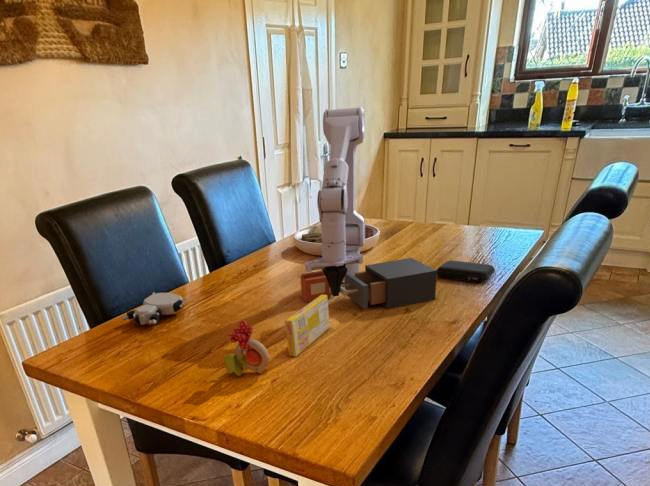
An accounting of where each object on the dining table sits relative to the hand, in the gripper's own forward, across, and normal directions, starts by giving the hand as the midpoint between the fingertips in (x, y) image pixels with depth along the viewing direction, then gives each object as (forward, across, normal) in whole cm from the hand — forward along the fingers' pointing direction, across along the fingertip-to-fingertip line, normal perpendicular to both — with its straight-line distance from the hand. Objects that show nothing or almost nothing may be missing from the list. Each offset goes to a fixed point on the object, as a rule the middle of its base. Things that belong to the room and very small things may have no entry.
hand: (335, 295), depth 130 cm
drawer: (+2, +9, 0) cm, 10 cm away
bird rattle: (+4, -29, -25) cm, 38 cm away
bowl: (+4, +22, +55) cm, 59 cm away
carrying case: (+4, +41, +5) cm, 41 cm away
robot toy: (+4, -44, +15) cm, 47 cm away
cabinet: (+3, +18, 0) cm, 18 cm away
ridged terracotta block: (+3, -2, +10) cm, 10 cm away
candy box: (+4, -13, -17) cm, 21 cm away
